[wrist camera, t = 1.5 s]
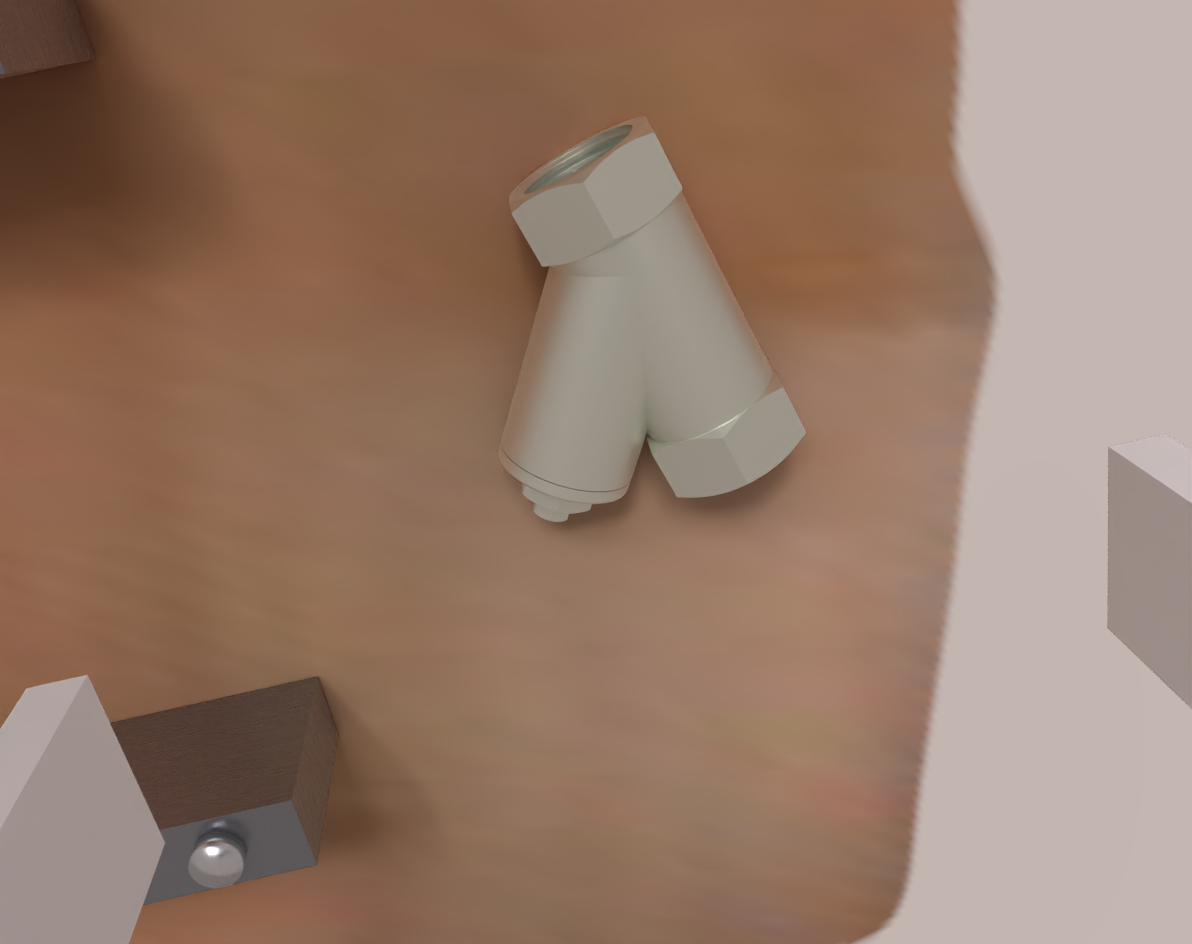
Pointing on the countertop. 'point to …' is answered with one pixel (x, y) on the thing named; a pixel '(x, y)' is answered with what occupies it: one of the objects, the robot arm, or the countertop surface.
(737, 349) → the pipe fitting
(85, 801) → the robot arm
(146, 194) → the countertop surface
